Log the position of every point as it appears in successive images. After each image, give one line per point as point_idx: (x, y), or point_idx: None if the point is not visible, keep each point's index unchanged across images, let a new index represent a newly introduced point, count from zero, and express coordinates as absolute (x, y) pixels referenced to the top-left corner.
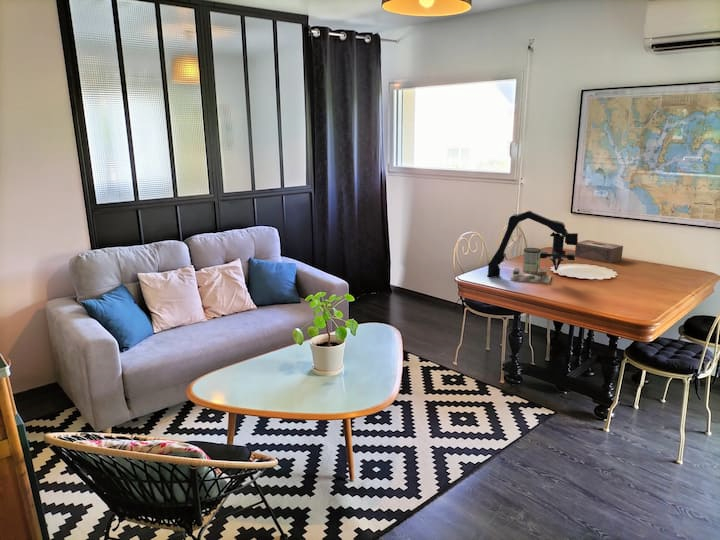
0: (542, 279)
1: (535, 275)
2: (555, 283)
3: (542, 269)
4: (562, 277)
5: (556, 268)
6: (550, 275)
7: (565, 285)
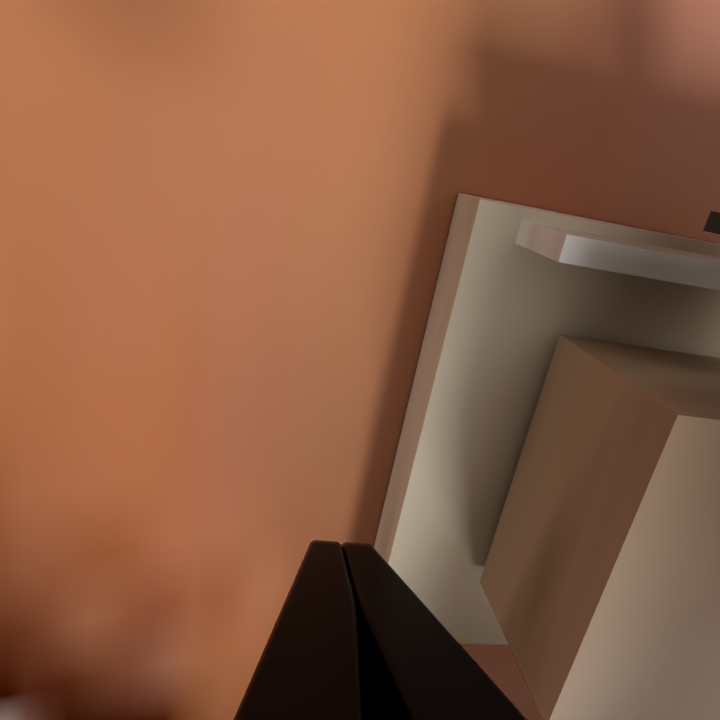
0: (665, 249)
1: None
2: (325, 194)
3: (669, 685)
4: (123, 672)
5: (337, 592)
6: None
7: (68, 3)
